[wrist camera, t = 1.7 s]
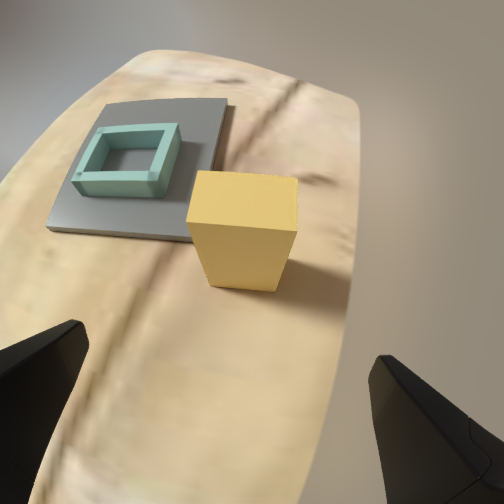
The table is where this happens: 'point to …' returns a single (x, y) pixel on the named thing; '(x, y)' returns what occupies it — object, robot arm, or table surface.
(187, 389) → the table surface
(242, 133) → the table surface
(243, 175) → the block
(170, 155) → the plate
